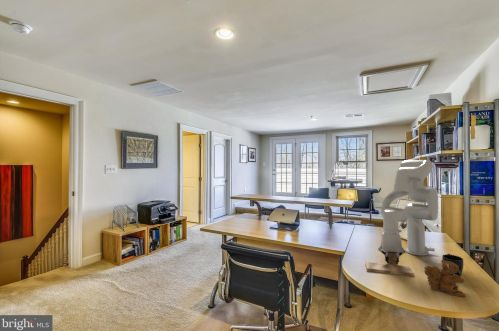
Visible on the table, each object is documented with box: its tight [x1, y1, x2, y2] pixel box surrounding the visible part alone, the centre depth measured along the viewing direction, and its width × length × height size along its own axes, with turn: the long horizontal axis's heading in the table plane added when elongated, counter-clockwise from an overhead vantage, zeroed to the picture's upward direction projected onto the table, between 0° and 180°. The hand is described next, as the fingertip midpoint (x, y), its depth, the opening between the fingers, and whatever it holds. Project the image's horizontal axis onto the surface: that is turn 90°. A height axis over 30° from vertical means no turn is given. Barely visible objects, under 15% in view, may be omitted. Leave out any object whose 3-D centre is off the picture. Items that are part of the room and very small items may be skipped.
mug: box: [441, 253, 464, 277], centre depth 125 cm, size 8×12×10 cm
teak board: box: [364, 261, 415, 277], centre depth 133 cm, size 22×9×2 cm, turn 70°
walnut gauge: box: [388, 252, 397, 267], centre depth 136 cm, size 4×10×7 cm, turn 161°
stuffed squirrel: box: [424, 259, 466, 298], centre depth 111 cm, size 10×14×13 cm
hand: (392, 262), depth 138 cm, fingers closed on walnut gauge, 4 cm apart
